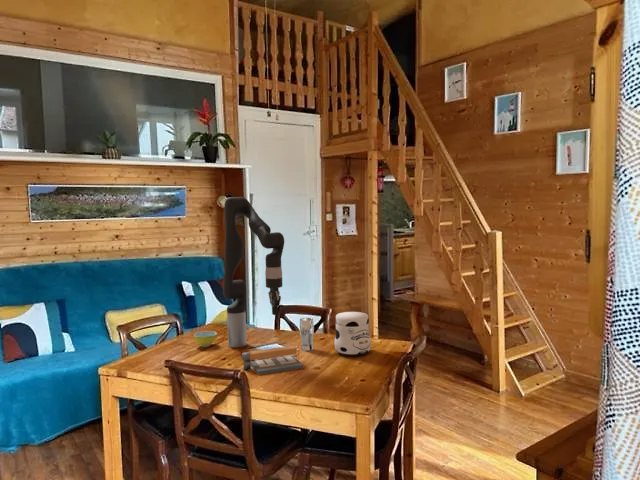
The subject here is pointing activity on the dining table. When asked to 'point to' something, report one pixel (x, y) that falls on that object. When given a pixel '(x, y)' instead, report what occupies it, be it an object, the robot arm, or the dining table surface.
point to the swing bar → (269, 353)
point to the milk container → (352, 333)
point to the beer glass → (307, 333)
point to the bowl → (205, 338)
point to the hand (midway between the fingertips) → (275, 314)
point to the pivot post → (247, 364)
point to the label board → (276, 364)
